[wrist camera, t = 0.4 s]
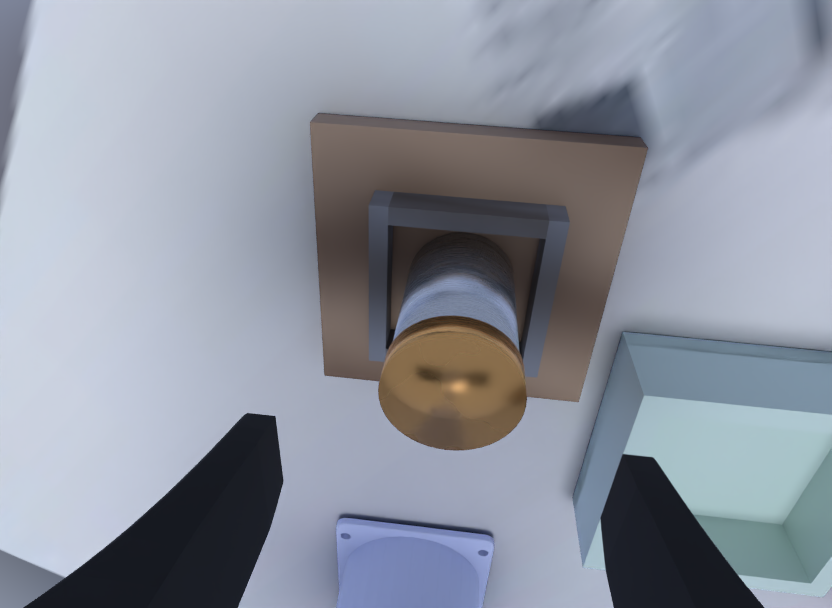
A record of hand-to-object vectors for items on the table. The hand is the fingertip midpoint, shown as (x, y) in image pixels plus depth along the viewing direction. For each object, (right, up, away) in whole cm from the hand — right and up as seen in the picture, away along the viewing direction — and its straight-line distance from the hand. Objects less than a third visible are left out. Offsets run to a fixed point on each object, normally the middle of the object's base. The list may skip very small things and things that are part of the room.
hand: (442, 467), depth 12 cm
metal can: (+1, +4, +8) cm, 9 cm away
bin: (+12, -2, +12) cm, 17 cm away
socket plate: (+1, +5, +8) cm, 10 cm away
